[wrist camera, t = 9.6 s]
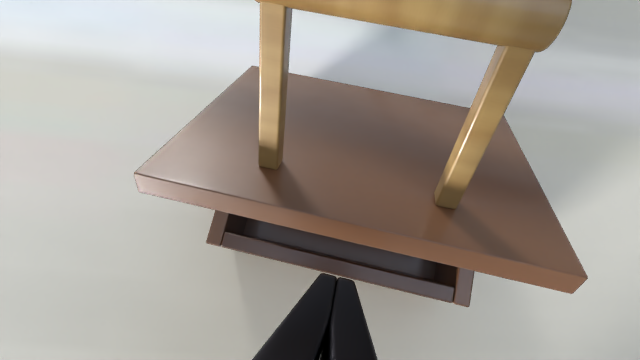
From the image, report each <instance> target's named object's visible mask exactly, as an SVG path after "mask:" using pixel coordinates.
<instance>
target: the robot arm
mask: <svg viewBox="0 0 640 360" xmlns="http://www.w3.org/2000/svg"><path fill="white" fill-rule="evenodd" d="M319 359H320V360H377V356H376V353H375V349H374V346H373V343H372V339H371V336H370V333H369V329H368V326H367V323H366V319H365V316H364V313H363V309H362V306H361V303H360V299H359V296H358V293H357V289H356V286H355V283H354V281H352V280H349V279H345V278H341V277H340V278H338V279H337V278H336V276H333V275H329V274H325V273H322V274H320V275H319V276H318V278H317V279H316V280H315V281H314V283H313V284H312V285H311V286H310V288H309V289H308V290H307V291H306V293H305V294H304V295H303V296H302V298H301V299H300V300H299V301H298V303H297V304H296V305H295V306H294V308H293V309H292V310H291V311H290V313H289V314H288V315H287V317H286V318H285V319H284V320H283V322H282V323H281V324H280V325H279V327H278V328H277V329H276V330H275V332H274V333H273V334H272V335H271V337H270V338H269V339H268V340H267V342H266V343H265V344H264V345H263V347H262V348H261V349H260V350H259V352H258V353H257V354H256V355H255V357H254V358H253V359H252V360H319Z"/></svg>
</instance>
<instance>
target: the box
mask: <svg viewBox="0 0 640 360" xmlns="http://www.w3.org/2000/svg"><path fill="white" fill-rule="evenodd" d="M206 243H207V244H212V245H216V246H222V247H224V248H228V249H232V250H236V251H240V252H244V253H248V254H253V255H257V256H261V257H265V258H269V259H273V260H277V261H281V262H285V263H289V264H293V265H298V266H302V267H306V268H310V269H314V270H318V271H322V272H326V273H330V274H334V275H338V276H342V277H347V278H351V279H355V280H359V281H363V282H367V283H371V284H375V285H379V286H383V287H387V288H391V289H396V290H400V291H404V292H408V293H412V294H416V295H420V296H424V297H428V298H432V299H436V300H441V301H445V302H449V303H454V304H457V305H461V306H465V307H469V305H470V298H471V291H472V284H473V277H474V271H472V270H468V269H464V268H460V267H455V266H451V265H447V264H443V263H438V262H434V261H430V260H426V259H421V258H417V257H413V256H409V255H404V254H400V253H396V252H392V251H387V250H383V249H379V248H375V247H370V246H366V245H362V244H358V243H354V242H349V241H345V240H341V239H337V238H332V237H328V236H324V235H320V234H315V233H311V232H307V231H303V230H298V229H294V228H290V227H286V226H281V225H277V224H273V223H269V222H264V221H260V220H256V219H252V218H247V217H243V216H239V215H235V214H230V213H226V212H222V211H218V210H215V213H214V217H213V220H212V224H211V227H210V231H209V234H208V237H207V241H206Z"/></svg>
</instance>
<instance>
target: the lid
mask: <svg viewBox="0 0 640 360" xmlns="http://www.w3.org/2000/svg"><path fill="white" fill-rule="evenodd" d="M255 1H257V2H258V3H260V58H259V67H256V66H251V67H250V68H249V69H248V70H247V71H246V72H245V73H243V74H242V75H241V76H240V77H239V78H238V79H237V80H236V81H235V82H234V83H232V84H231V85H230V86H229V87H228V88H227V89H226V90H225V91H224V92H222V93H221V94H220V95H219V96H218V97H217V98H216V99H215V100H214V101H213V102H211V103H210V104H209V105H208V106H207V107H206V108H205V109H204V110H203V111H201V112H200V113H199V114H198V115H197V116H196V117H195V118H194V119H193V120H192V121H190V122H189V123H188V124H187V125H186V126H185V127H184V128H183V129H182V130H180V131H179V132H178V133H177V134H176V135H175V136H174V137H173V138H172V139H171V140H169V141H168V142H167V143H166V144H165V145H164V146H163V147H162V148H161V149H160V150H158V151H157V152H156V153H155V154H154V155H153V156H152V157H151V158H150V159H148V160H147V161H146V162H145V163H144V164H143V165H142V166H141V167H140V168H139V169H137V170H136V171H135V172H134V177H135V181H136V184H137V188H138V191H139V192H141V193H145V194H150V195H154V196H158V197H162V198H167V199H171V200H175V201H179V202H184V203H188V204H192V205H196V206H201V207H205V208H209V209H213V210H218V211H222V212H226V213H230V214H235V215H239V216H243V217H247V218H252V219H256V220H260V221H264V222H269V223H273V224H277V225H281V226H286V227H290V228H294V229H298V230H303V231H307V232H311V233H315V234H320V235H324V236H328V237H332V238H337V239H341V240H345V241H349V242H354V243H358V244H362V245H366V246H370V247H375V248H379V249H383V250H387V251H392V252H396V253H400V254H404V255H409V256H413V257H417V258H421V259H426V260H430V261H434V262H438V263H443V264H447V265H451V266H455V267H460V268H464V269H468V270H472V271H477V272H481V273H485V274H489V275H494V276H498V277H502V278H506V279H511V280H515V281H519V282H523V283H528V284H532V285H536V286H540V287H545V288H549V289H553V290H557V291H562V292H566V293H570V294H572V293H574V292H575V291H576V290H577V289H578V288H579V287H580V286H581V285H582V284H583V283H584V282H585V281H586V280H587V279H588V277H587V275H586V273H585V271H584V269H583V267H582V265H581V263H580V261H579V259H578V257H577V255H576V253H575V252H574V250H573V248H572V246H571V244H570V242H569V240H568V238H567V236H566V234H565V232H564V230H563V228H562V227H561V225H560V223H559V221H558V219H557V217H556V215H555V213H554V211H553V209H552V207H551V205H550V203H549V202H548V200H547V198H546V196H545V194H544V192H543V190H542V188H541V186H540V184H539V182H538V180H537V178H536V176H535V175H534V173H533V171H532V169H531V167H530V165H529V163H528V161H527V159H526V157H525V155H524V153H523V151H522V150H521V148H520V146H519V144H518V142H517V140H516V138H515V136H514V134H513V132H512V130H511V128H510V126H509V125H508V123H507V121H506V119H505V117H504V113H505V111H506V109H507V107H508V105H509V103H510V101H511V99H512V97H513V95H514V93H515V91H516V89H517V87H518V85H519V83H520V81H521V79H522V77H523V75H524V73H525V71H526V69H527V67H528V65H529V63H530V61H531V59H532V57H533V55H534V53H535V52H541V51H544V50H545V49H547V48H548V47H549V46H550V45H551V44H552V43H553V41H554V40H555V39H556V37H557V36H558V34H559V33H560V31H561V29H562V27H563V25H564V23H565V21H566V19H567V17H568V14H569V11H570V8H571V3H572V0H255ZM292 9H297V10H303V11H309V12H314V13H320V14H325V15H331V16H337V17H342V18H348V19H353V20H359V21H365V22H370V23H376V24H381V25H387V26H392V27H398V28H404V29H409V30H415V31H420V32H426V33H432V34H437V35H443V36H448V37H454V38H460V39H465V40H471V41H476V42H482V43H488V44H493V45H497V48H496V50H495V52H494V55H493V57H492V59H491V62H490V64H489V66H488V69H487V71H486V73H485V76H484V78H483V80H482V82H481V85H480V87H479V89H478V92H477V94H476V96H475V99H474V101H473V103H472V106H471V108H466V107H461V106H456V105H451V104H446V103H440V102H435V101H430V100H425V99H420V98H415V97H410V96H405V95H400V94H394V93H389V92H384V91H379V90H374V89H369V88H364V87H359V86H354V85H348V84H343V83H338V82H333V81H328V80H323V79H318V78H313V77H308V76H302V75H297V74H292V73H288V68H289V52H290V37H291V21H292Z"/></svg>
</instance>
